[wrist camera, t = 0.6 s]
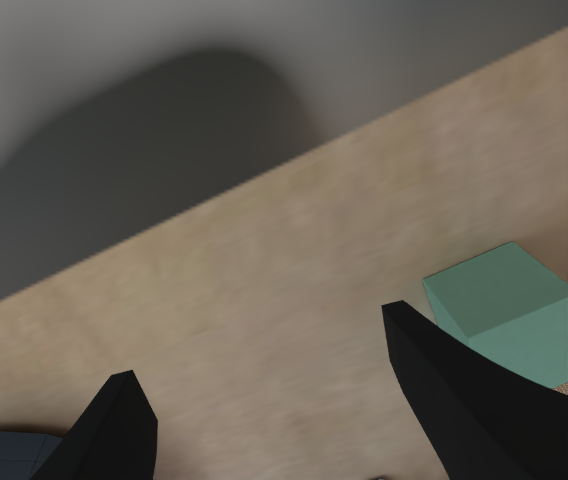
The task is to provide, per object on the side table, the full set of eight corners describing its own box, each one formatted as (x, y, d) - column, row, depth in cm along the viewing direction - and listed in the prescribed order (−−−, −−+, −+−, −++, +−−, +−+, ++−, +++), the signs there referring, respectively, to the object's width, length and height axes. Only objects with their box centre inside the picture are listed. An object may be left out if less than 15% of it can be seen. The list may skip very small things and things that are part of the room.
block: (527, 311, 26) (591, 373, 21) (444, 346, 26) (490, 413, 22) (512, 240, 24) (580, 292, 19) (421, 279, 24) (467, 338, 19)
